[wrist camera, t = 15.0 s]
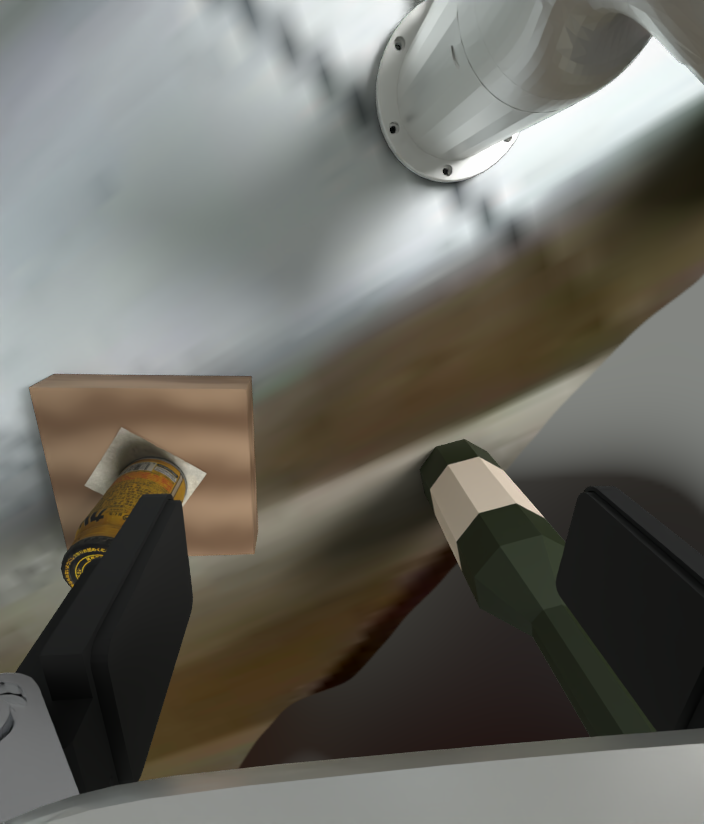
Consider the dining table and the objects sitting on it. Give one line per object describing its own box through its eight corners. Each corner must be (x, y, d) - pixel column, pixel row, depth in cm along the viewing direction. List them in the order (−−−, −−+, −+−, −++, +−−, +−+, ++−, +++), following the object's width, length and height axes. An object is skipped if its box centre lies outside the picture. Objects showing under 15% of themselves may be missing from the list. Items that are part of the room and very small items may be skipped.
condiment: (168, 526, 43) (121, 625, 32) (85, 484, 41) (2, 576, 29) (207, 472, 41) (171, 557, 30) (122, 425, 39) (50, 499, 28)
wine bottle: (427, 435, 47) (608, 719, 19) (500, 442, 48) (769, 719, 20) (412, 501, 50) (549, 832, 22) (480, 507, 51) (693, 826, 23)
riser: (53, 374, 40) (28, 387, 37) (251, 376, 42) (246, 389, 39) (88, 534, 47) (69, 559, 43) (258, 530, 49) (254, 553, 45)
